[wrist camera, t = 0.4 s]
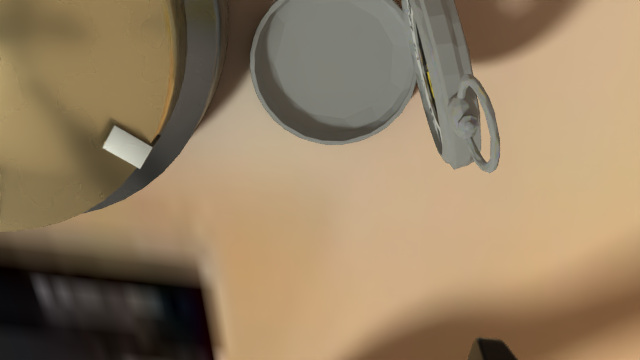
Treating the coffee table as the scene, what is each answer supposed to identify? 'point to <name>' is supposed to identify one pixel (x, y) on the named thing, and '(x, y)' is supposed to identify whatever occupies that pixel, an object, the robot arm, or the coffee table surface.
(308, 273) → the coffee table surface
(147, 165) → the dark grey round disc
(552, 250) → the coffee table surface
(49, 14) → the tan round piece
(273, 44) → the pocket watch
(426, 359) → the coffee table surface
